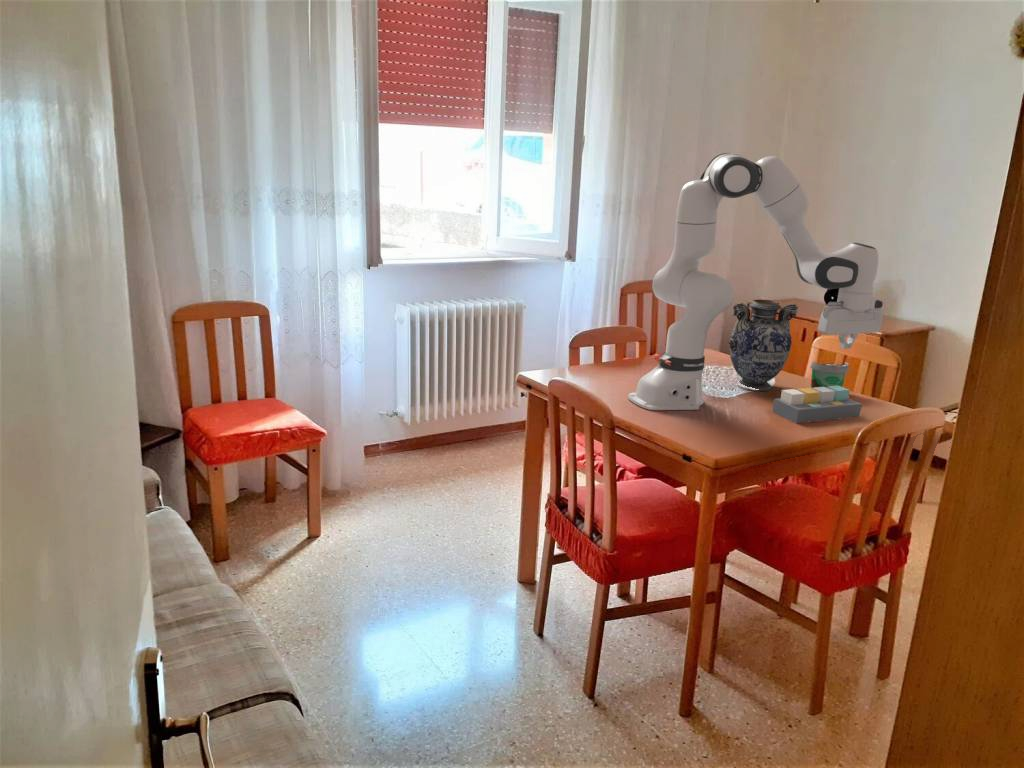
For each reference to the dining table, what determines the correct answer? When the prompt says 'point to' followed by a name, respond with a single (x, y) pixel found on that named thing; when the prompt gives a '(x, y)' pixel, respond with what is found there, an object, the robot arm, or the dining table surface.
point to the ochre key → (810, 395)
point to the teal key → (840, 393)
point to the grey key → (825, 394)
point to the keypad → (817, 410)
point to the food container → (828, 374)
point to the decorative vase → (760, 341)
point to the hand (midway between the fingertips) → (845, 348)
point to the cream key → (792, 397)
